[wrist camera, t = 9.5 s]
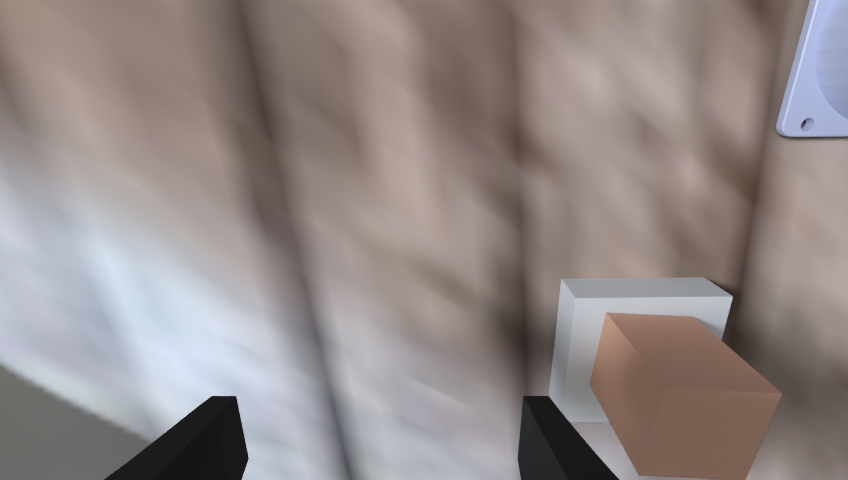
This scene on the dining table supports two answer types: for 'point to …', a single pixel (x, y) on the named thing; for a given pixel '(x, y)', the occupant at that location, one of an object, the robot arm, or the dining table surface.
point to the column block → (680, 397)
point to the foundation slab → (596, 297)
